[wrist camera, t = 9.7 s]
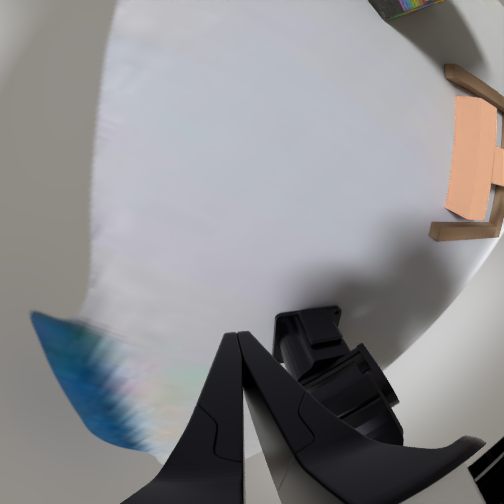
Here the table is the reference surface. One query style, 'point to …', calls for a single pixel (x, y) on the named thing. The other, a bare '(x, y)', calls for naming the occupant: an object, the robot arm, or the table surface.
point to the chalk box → (399, 7)
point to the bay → (500, 210)
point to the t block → (474, 158)
